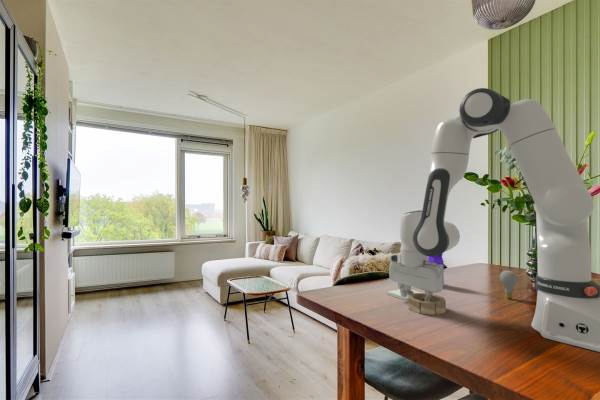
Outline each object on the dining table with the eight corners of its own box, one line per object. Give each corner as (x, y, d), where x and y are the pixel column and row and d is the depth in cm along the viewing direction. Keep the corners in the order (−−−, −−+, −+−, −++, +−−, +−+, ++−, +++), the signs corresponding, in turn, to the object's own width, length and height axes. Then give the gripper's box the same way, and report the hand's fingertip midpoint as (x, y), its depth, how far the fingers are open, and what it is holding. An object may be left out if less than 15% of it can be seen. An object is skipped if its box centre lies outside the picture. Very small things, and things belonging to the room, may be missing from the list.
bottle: (446, 287, 132) (445, 244, 132) (432, 287, 132) (431, 244, 132) (439, 283, 139) (438, 242, 140) (425, 283, 140) (425, 242, 140)
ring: (452, 310, 104) (452, 299, 104) (428, 316, 98) (428, 305, 98) (424, 301, 113) (424, 291, 113) (401, 306, 108) (401, 296, 108)
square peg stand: (427, 296, 119) (426, 277, 119) (407, 301, 114) (407, 281, 114) (406, 290, 128) (405, 272, 128) (386, 294, 123) (386, 275, 123)
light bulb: (500, 299, 115) (500, 271, 115) (499, 295, 120) (498, 268, 120) (519, 301, 112) (518, 272, 112) (517, 297, 117) (516, 269, 117)
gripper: (447, 262, 102) (447, 306, 102) (398, 254, 120) (399, 291, 120) (433, 264, 99) (434, 310, 99) (385, 255, 117) (386, 294, 117)
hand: (414, 299), depth 110 cm, fingers open, 8 cm apart
